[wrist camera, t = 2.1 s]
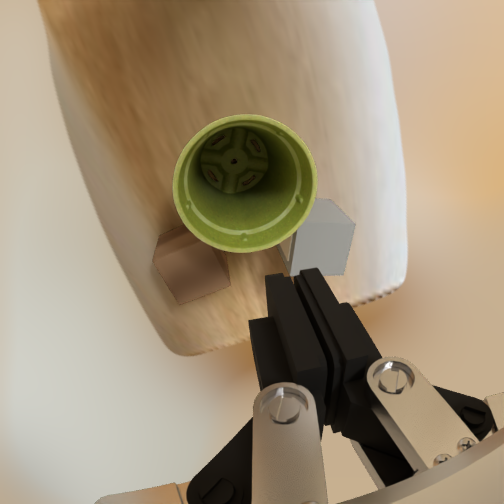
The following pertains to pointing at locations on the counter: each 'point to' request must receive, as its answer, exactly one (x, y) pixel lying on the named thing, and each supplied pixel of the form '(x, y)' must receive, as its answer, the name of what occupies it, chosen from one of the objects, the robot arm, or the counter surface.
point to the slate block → (319, 241)
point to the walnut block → (190, 265)
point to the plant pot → (244, 196)
